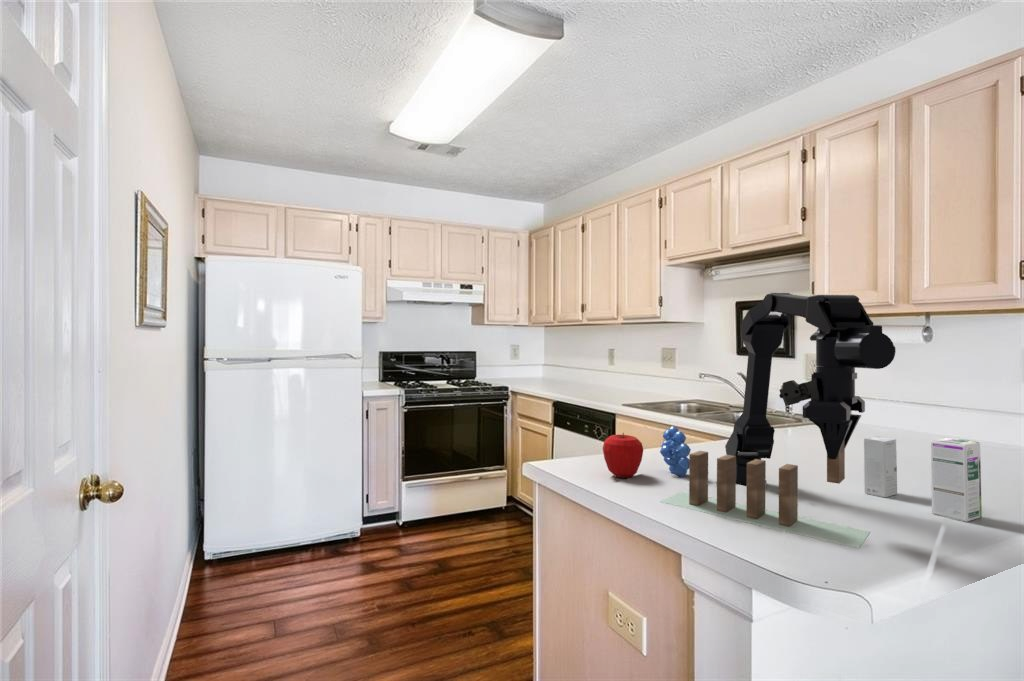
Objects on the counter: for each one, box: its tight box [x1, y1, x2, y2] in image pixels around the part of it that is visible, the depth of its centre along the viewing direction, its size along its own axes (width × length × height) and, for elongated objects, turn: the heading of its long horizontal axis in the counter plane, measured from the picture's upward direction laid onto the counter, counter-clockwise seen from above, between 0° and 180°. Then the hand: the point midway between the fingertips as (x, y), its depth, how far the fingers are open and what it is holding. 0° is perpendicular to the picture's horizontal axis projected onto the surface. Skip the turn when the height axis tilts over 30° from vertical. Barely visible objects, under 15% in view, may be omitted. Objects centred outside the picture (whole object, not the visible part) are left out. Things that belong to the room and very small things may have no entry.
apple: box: [602, 432, 644, 479], centre depth 126 cm, size 10×10×11 cm
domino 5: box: [826, 440, 846, 485], centre depth 90 cm, size 2×5×10 cm, turn 138°
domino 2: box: [716, 454, 737, 513], centre depth 100 cm, size 2×5×10 cm, turn 137°
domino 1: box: [688, 450, 709, 506], centre depth 104 cm, size 2×5×10 cm, turn 137°
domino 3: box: [746, 459, 767, 520], centre depth 97 cm, size 2×5×10 cm, turn 137°
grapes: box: [659, 425, 692, 477], centre depth 128 cm, size 12×7×12 cm, turn 11°
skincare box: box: [863, 436, 898, 498], centre depth 114 cm, size 6×4×12 cm
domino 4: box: [778, 463, 799, 527], centre depth 93 cm, size 2×5×10 cm, turn 137°
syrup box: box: [930, 437, 983, 523], centre depth 99 cm, size 6×6×14 cm
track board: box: [659, 491, 871, 549], centre depth 97 cm, size 10×34×1 cm, turn 47°
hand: (835, 456), depth 90 cm, fingers closed on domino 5, 5 cm apart
